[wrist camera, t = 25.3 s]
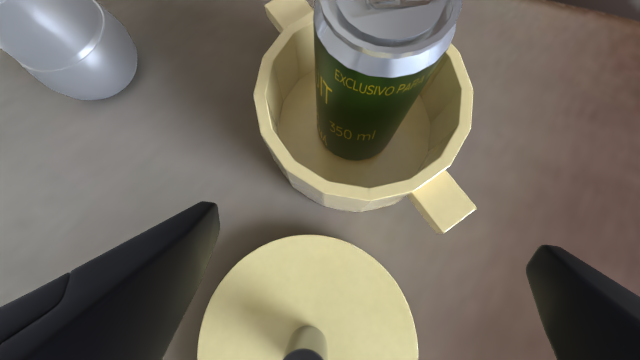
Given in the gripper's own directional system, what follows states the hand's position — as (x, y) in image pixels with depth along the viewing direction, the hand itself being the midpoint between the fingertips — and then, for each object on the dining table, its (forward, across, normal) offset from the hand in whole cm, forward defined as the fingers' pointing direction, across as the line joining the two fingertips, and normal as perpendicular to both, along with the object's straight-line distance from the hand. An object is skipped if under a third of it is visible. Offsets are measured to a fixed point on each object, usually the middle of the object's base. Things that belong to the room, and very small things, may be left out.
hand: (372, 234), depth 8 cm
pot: (+15, 0, +3) cm, 15 cm away
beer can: (+14, 0, +3) cm, 15 cm away
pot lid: (+4, +2, +13) cm, 14 cm away
